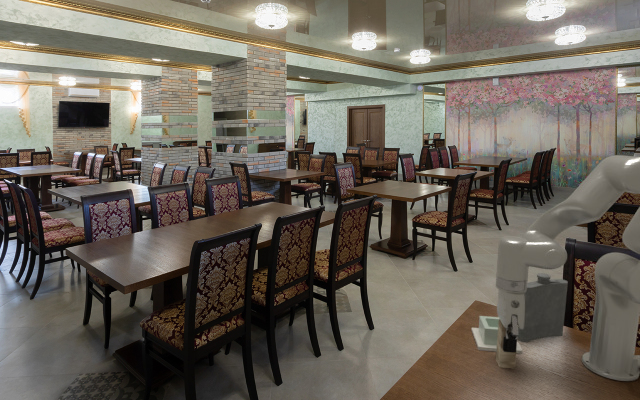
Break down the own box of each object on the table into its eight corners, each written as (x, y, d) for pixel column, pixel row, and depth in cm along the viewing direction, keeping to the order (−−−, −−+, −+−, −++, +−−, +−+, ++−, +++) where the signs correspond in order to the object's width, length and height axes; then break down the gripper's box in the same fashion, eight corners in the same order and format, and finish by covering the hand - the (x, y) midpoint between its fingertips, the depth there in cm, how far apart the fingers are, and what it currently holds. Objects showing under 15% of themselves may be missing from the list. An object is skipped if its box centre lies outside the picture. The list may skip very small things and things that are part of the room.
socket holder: (511, 333, 128) (512, 315, 127) (522, 354, 116) (524, 334, 115) (471, 330, 130) (472, 312, 129) (478, 350, 118) (479, 330, 117)
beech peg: (511, 360, 113) (514, 320, 111) (515, 368, 109) (518, 327, 107) (495, 358, 114) (498, 319, 112) (499, 367, 110) (502, 325, 108)
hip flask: (522, 343, 122) (527, 280, 119) (512, 336, 126) (517, 275, 123) (564, 335, 126) (571, 274, 123) (554, 329, 130) (560, 270, 127)
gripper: (536, 296, 98) (531, 365, 102) (517, 272, 115) (513, 332, 118) (504, 294, 100) (499, 361, 103) (489, 271, 116) (485, 329, 120)
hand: (506, 345), depth 110 cm, fingers open, 5 cm apart
